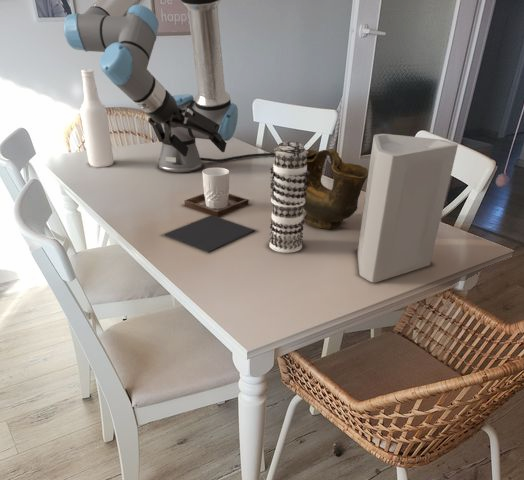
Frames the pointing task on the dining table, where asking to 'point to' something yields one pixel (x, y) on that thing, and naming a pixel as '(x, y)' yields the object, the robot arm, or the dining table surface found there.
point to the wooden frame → (193, 204)
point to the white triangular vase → (403, 204)
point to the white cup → (216, 187)
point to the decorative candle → (288, 196)
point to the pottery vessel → (331, 201)
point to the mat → (209, 233)
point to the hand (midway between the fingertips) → (205, 150)
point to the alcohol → (95, 124)
